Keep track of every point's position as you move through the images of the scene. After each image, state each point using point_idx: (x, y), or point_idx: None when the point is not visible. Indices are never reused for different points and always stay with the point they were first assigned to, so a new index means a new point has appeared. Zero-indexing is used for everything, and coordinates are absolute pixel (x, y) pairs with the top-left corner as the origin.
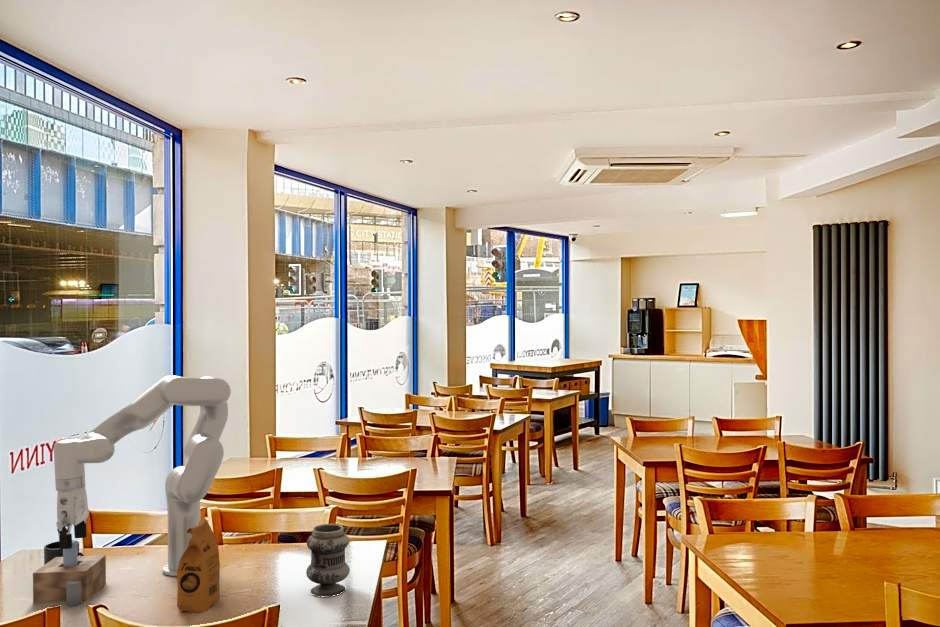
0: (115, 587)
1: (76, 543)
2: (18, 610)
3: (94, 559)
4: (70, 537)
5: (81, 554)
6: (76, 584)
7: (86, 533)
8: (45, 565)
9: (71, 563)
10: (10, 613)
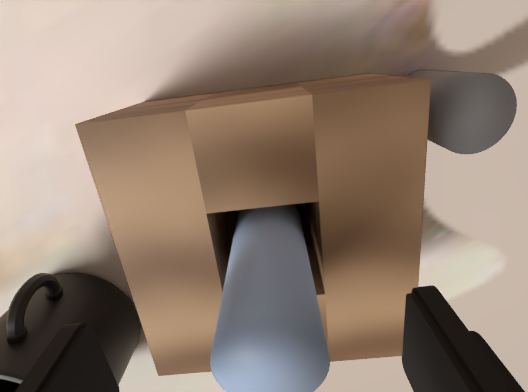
0: (201, 13)
1: (268, 312)
2: (444, 273)
3: (176, 154)
4: (502, 387)
5: (19, 308)
6: (506, 83)
7: (47, 349)
8: None
9: (300, 242)
10: (469, 282)
